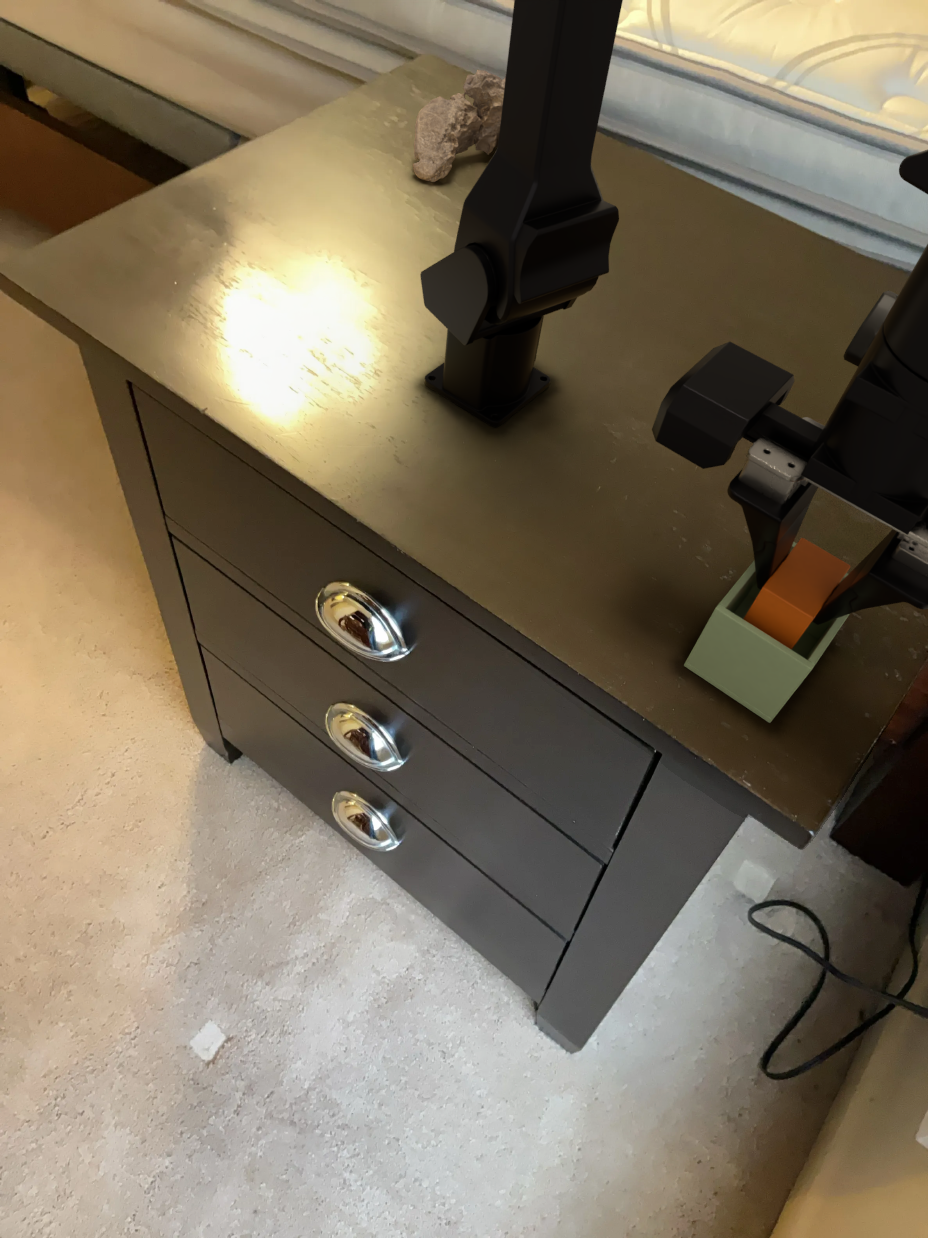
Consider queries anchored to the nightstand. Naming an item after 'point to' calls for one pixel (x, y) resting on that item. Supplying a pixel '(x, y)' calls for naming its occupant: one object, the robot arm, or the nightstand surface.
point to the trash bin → (755, 652)
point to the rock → (458, 125)
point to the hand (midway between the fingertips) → (791, 601)
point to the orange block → (796, 592)
